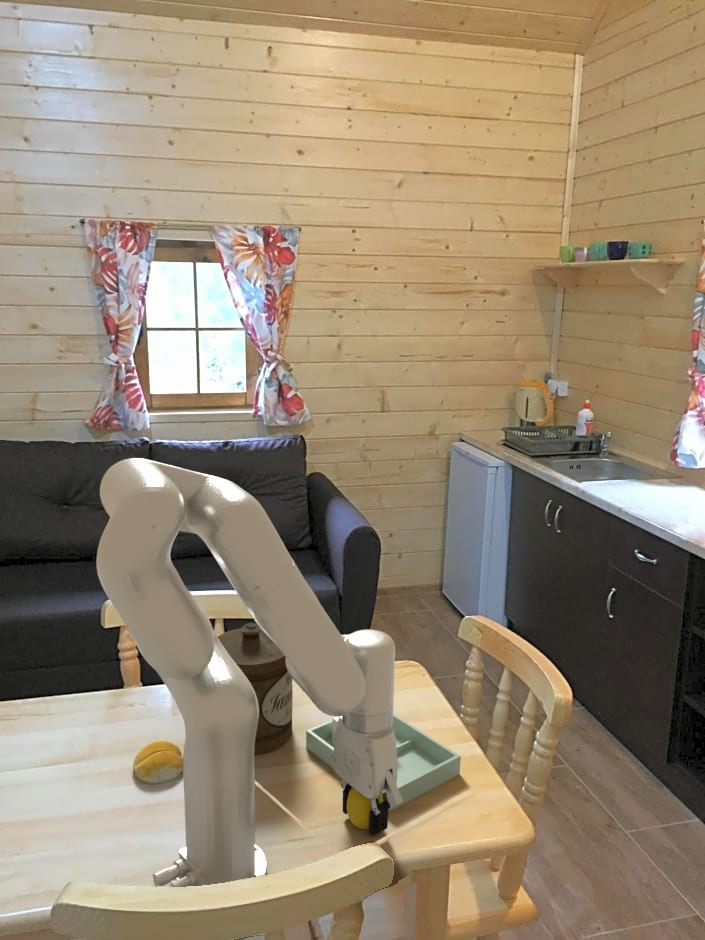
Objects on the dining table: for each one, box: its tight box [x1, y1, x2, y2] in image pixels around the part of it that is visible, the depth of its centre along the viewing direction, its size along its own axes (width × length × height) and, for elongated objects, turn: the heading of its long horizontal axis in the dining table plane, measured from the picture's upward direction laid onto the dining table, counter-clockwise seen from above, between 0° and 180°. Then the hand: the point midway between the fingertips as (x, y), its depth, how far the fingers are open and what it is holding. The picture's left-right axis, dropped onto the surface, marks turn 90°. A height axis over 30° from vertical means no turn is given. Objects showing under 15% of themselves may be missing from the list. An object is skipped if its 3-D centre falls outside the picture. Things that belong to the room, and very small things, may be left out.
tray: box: [305, 712, 462, 813], centre depth 138 cm, size 16×22×4 cm
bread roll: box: [132, 740, 183, 785], centre depth 136 cm, size 8×9×4 cm
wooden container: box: [217, 622, 293, 757], centre depth 144 cm, size 15×15×22 cm
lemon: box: [347, 787, 383, 830], centre depth 121 cm, size 6×6×8 cm
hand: (364, 819), depth 122 cm, fingers closed on lemon, 5 cm apart
